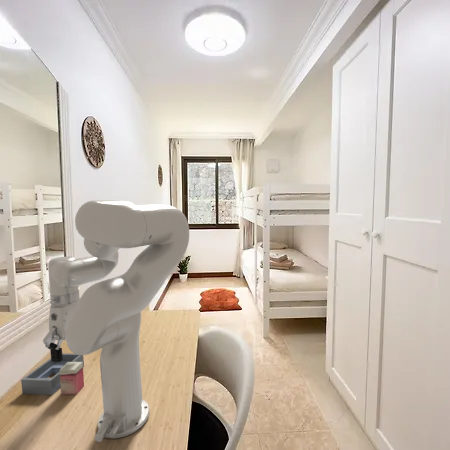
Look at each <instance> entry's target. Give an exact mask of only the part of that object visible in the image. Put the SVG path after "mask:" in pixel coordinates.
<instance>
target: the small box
mask: <svg viewBox="0 0 450 450" xmlns="http://www.w3.org/2000/svg"><path fill="white" fill-rule="evenodd" d="M84 380H85V376H84V366H83V362H67V363H66V364H65V365H64V366H63V367H62V368H61V369H60V384H61V387H60V394H61V395H77V394H78V393H79V392H80V391H81V390H82V389H83V387H84V386H85V381H84Z"/></svg>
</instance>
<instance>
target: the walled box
mask: <svg viewBox="0 0 450 450" xmlns="http://www.w3.org/2000/svg"><path fill="white" fill-rule="evenodd" d="M62 357H63V360H62V361H61V362H52V361H51V357H50V358H48V360H46V361H44V363H42V364H41V365H39V366H38V367H37V368H35V369H34V370H31V372H29V373H28V374H27V375H25V376H24V377H23V378H22V379H20V382H21V391H22V394H23V395H41V396H42V395H44V396H46V395H47V396H53V395H54V394H55V393H56V392H57V391H58V390H59V389H61V384H60V369H61V368H62V367H63V366H64V365H65V364H66V363H67V362H83V367H85V360H84V359H85V358H84V355H78V354H75V353H73V352H72V353H70V352H69V353H67V352H64V353H63V352H62ZM53 374H55V375H53ZM51 375H52V377H50V376H51Z"/></svg>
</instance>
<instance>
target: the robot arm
mask: <svg viewBox="0 0 450 450" xmlns="http://www.w3.org/2000/svg"><path fill="white" fill-rule="evenodd" d="M74 223H75V229H76V230H77V233H78V234H79V235H80V236H81V237H82V238H83V246H84V249H85V250H86V252H88V253H89V254H90V256H86V257H85V256H84V257H81V258H76V257H74V256H59V257H53V258H52V259H50V260H49V261H48V264H47V268H48V269H47V270H48V282H49V283H48V285H49V299H50V302H49V303H50V307H49V315H48V316H49V318H48V332H47V334H46V335H45V336H44V337H43V339H42V342H43V344H44V345H45V347H46V348H47V349H48V350H50V358H51V361H52V362H61V361H62V360H63V357H62V353H63V348H62V347H61V346H62V343H63V341H65V342H66V346H67V347H68V349H69V350H70V351H71V352H72V353H75V354H78V355H83V356H87V355H90V354H92V353H94V352H97V351H100V350H101V351H100V357H99V365H100V366H99V368H100V379H101V393H102V405H103V412H101V414H100V416H99V417H98V420H97V433H96V434H95V435H94V440H95V441H96V442H98V443H101V442H102V441H103V440H104V438H108V439H119V438H120V439H121V438H124V437H127V436H130V435H132V434H133V433H135V432H137V431H138V430H139V429H141V428H142V426H144V424H146V422H147V420H148V419H149V415H150V406H149V403H148V402H147V401H146V400H144V399H143V390H142V389H143V388H142V373H141V360H140V359H141V357H140V354H141V353H140V333H141V332H140V331H141V323H142V311H144V310H145V309H147V307H149V305H150V304H151V302H152V301H153V300H154V298H155V297H156V295H157V294H158V292H159V291H160V289H161V288H162V287H163V285H164V284H165V283H166V281H167V280H168V279H169V277H170V275H171V274H172V272H173V271H174V270H175V269H176V268H177V266H178V265H179V264H180V262H181V261H182V260H183V257H184V256H185V253H186V251H187V249H188V246H189V242H190V225H189V222H188V218H187V217H186V215H185V214H184V213H183V212H182V211H181V210H180V209H179V208H177V207H174V206H172V205H167V204H134V203H132V202H131V201H126V200H100V199H99V200H98V199H97V200H89V201H86V202H84V203H83V204H82V205H81V206H79V208H78V210H77V212H76V214H75V218H74ZM143 246H144V247H146V246H147V247H146V248H145V249H143V251H141V252H140V253H139V254H138V255H137V256H136V257H135V259H133V261H132V264H131V265H130V266H129V268H128V269H127V270H126V271H125V272H124V273H123V274H121V275H118V276H115V277H112V278H108V279H106V280H102V279H104V278H106V277H108V275H110V274H111V272H113V270H114V269H115V268H116V267H117V265H118V262H119V249H133V248H140V247H143ZM100 280H101V281H100ZM96 281H99V282H96ZM93 282H95V283H94V284H92V285H90V286H89V287H87V288H86V290H85V291H84V292H83V293H82V295H81V297H80V287H79V286H82V285H85V284H89V283H93ZM56 341H57V342H56ZM55 342H56V343H55Z"/></svg>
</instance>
